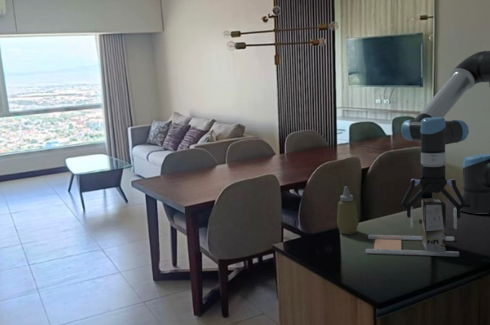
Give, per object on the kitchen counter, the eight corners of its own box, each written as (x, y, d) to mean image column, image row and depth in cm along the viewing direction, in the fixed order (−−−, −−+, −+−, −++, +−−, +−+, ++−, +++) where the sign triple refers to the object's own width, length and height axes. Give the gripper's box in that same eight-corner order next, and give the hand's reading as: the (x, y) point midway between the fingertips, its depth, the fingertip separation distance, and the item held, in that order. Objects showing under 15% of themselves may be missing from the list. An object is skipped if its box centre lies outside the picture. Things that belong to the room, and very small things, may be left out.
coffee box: (446, 252, 163) (446, 204, 161) (425, 252, 165) (425, 204, 162) (441, 242, 172) (441, 197, 170) (422, 242, 174) (421, 197, 171)
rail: (453, 239, 174) (453, 236, 174) (459, 256, 159) (458, 252, 159) (368, 237, 183) (368, 234, 183) (365, 253, 168) (365, 249, 167)
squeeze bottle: (339, 228, 196) (337, 184, 193) (360, 229, 193) (358, 184, 190) (335, 235, 188) (333, 188, 185) (357, 236, 186) (355, 189, 183)
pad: (401, 241, 177) (401, 239, 177) (401, 251, 167) (401, 250, 166) (375, 240, 180) (375, 239, 180) (373, 250, 169) (373, 249, 169)
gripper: (393, 167, 164) (394, 229, 167) (476, 166, 157) (475, 231, 160) (393, 163, 171) (394, 223, 175) (472, 162, 164) (472, 224, 167)
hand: (433, 227), depth 167 cm, fingers open, 13 cm apart
